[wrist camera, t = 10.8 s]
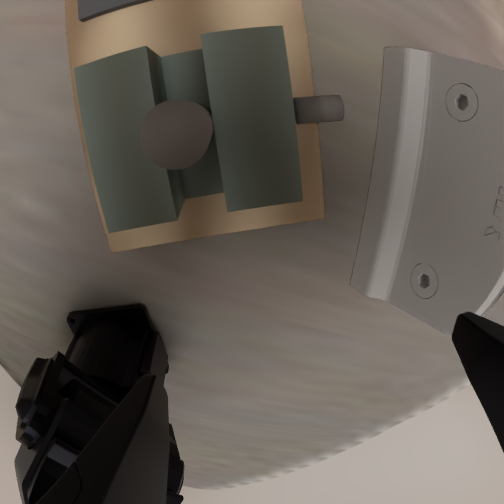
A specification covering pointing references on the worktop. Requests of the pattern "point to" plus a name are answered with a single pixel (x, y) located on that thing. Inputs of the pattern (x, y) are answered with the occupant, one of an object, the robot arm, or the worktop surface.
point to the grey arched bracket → (435, 189)
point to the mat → (102, 7)
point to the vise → (198, 118)
